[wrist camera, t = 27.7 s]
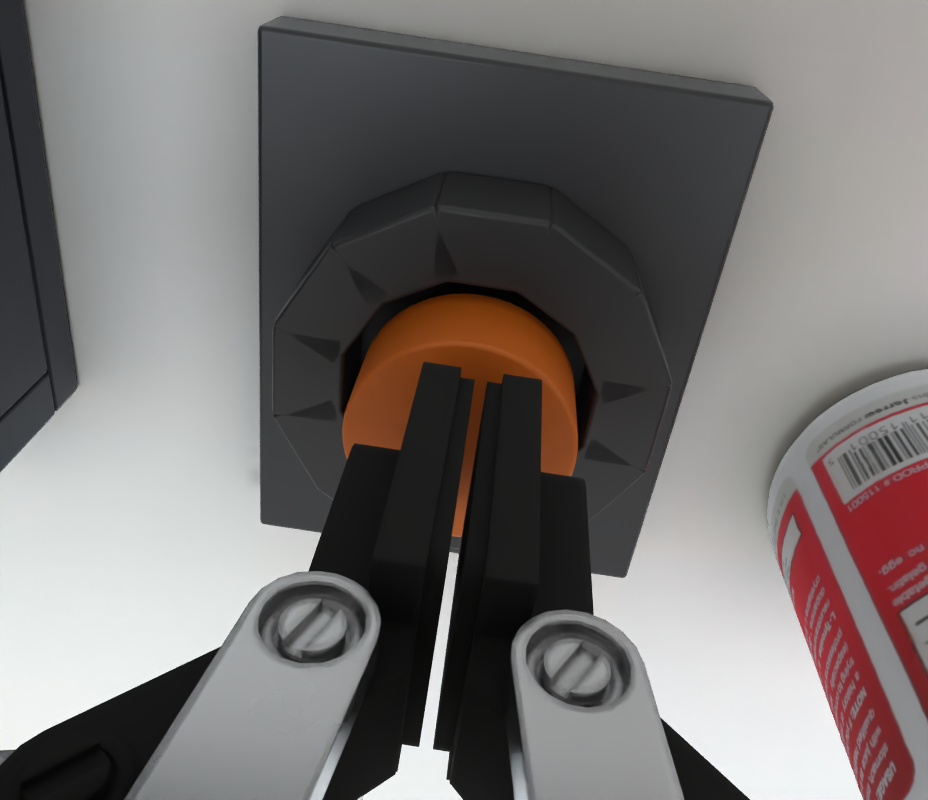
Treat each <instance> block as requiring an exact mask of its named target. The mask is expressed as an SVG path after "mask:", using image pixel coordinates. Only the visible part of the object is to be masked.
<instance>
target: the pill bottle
mask: <svg viewBox="0 0 928 800" xmlns="http://www.w3.org/2000/svg"><path fill="white" fill-rule="evenodd" d="M767 523H768V529H769V534H770V538H771V542H772V545H773V549H774V553H775V556H776V559H777V562H778V565H779V567H780V570H781V573H782V576H783V578H784V581H785V584H786V586H787V589H788V592H789V595H790V597H791V600H792V603H793V606H794V609H795V611H796V614H797V617H798V619H799V622H800V625H801V628H802V631H803V633H804V636H805V639H806V642H807V644H808V647H809V650H810V653H811V655H812V658H813V661H814V663H815V666H816V669H817V672H818V675H819V678H820V681H821V683H822V686H823V689H824V692H825V694H826V697H827V700H828V703H829V706H830V709H831V712H832V714H833V717H834V720H835V722H836V725H837V728H838V731H839V733H840V736H841V740H842V743H843V745H844V747H845V750H846V753H847V755H848V758H849V761H850V764H851V767H852V769H853V772H854V775H855V778H856V781H857V783H858V787H859V790H860V792H861V794H862V797H863V800H928V369H925V370H918V371H911V372H907V373H904V374H900V375H897V376H893V377H890V378H888V379H885V380H882V381H880V382H877V383H874V384H872V385H869V386H867V387H865V388H863V389H861V390H859V391H857V392H855V393H853V394H851V395H850V396H848V397H846V398H844V399H842V400H841V401H839V402H837V403H836V404H835V405H833V406H832V407H830V408H829V409H828V410H826V411H825V412H824V413H822V414H821V415H819V416H818V417H817V418H816V419H815V420H814V421H813V422H812V423H810V424H809V425H808V426H807V428H806V429H805V430H804V431H803V432H802V433H801V435H800V436H799V437H798V438H797V439H796V440H795V441H794V443H793V444H792V445H791V447H790V448H789V449H788V451H787V452H786V454H785V456H784V457H783V459H782V460H781V462H780V464H779V466H778V468H777V470H776V472H775V475H774V478H773V481H772V484H771V487H770V492H769V496H768V506H767Z"/></svg>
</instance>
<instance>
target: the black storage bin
mask: <svg viewBox="0 0 928 800" xmlns="http://www.w3.org/2000/svg"><path fill="white" fill-rule="evenodd" d="M76 389H77V380H76V373H75V366H74V359H73V352H72V345H71V338H70V331H69V324H68V317H67V310H66V303H65V295H64V288H63V281H62V274H61V267H60V260H59V253H58V246H57V239H56V232H55V225H54V218H53V211H52V204H51V197H50V190H49V183H48V176H47V169H46V162H45V155H44V148H43V141H42V134H41V127H40V120H39V113H38V106H37V99H36V92H35V85H34V78H33V71H32V64H31V57H30V50H29V43H28V36H27V29H26V22H25V15H24V8H23V1H22V0H0V472H1V471H2V470H3V469H4V468H5V467H6V466H7V465H8V464H9V463H10V461H11V460H12V459H13V458H14V457H15V456H16V455H17V454H18V453H19V452H20V451H21V450H22V449H23V447H24V446H25V445H26V444H27V443H28V442H29V441H30V440H31V439H32V438H33V437H34V436H35V435H36V433H37V432H38V431H39V430H40V429H41V428H42V427H43V426H44V425H45V424H46V423H47V422H48V421H49V419H50V418H51V417H52V416H53V415H54V413H55V411H57V410H58V409H59V408H60V407H61V406H62V405H63V404H64V403H65V401H66V400H67V399H68V398H69V397H70V396H71V395H72V394H73V393H74V392H75V391H76Z"/></svg>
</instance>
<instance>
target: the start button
mask: <svg viewBox="0 0 928 800" xmlns="http://www.w3.org/2000/svg"><path fill="white" fill-rule="evenodd" d="M423 362H430V363H437V364H443V365H450V366H456V367H462V368H461V376H460V377H461V378H468V379H474V380H475V383H474V390H473V397H472V403H471V410H470V417H469V424H468V430H467V437H466V444H465V450H464V457H463V464H462V470H461V477H460V484H459V490H458V497H457V504H456V511H455V517H454V524H453V531H452V536H456V537H462V531H463V525H464V519H465V513H466V507H467V501H468V495H469V489H470V483H471V476H472V470H473V464H474V458H475V452H476V446H477V440H478V434H479V428H480V422H481V416H482V410H483V404H484V398H485V392H486V386H487V382H494V383H500V384H502V379H503V375H504V374H508V375H515V376H522V377H528V378H535V379H541V380H542V430H541V472H546V473H552V474H559V475H565V476H572V473H573V470H574V467H575V464H576V459H577V453H578V430H577V415H576V400H575V385H574V378H573V371H572V368H571V365H570V362H569V359H568V357H567V355H566V353H565V351H564V348H563V347H562V345H561V344H560V342H559V341H558V339H557V338H556V336H555V335H554V334H553V333H552V332H551V331H550V330H549V329H548V327H547V326H546V325H544V324H543V323H542V322H541V321H540V320H538V319H537V318H536V317H535V316H533V315H532V314H530V313H529V312H527V311H526V310H524V309H522V308H520V307H518V306H516V305H514V304H512V303H510V302H507V301H504V300H501V299H498V298H495V297H490V296H485V295H479V294H468V293H465V294H449V295H442V296H437V297H433V298H430V299H426V300H423V301H421V302H418V303H416V304H414V305H411V306H409V307H408V308H406V309H404V310H403V311H401V312H399V313H398V314H397V315H396V316H394V317H393V318H392V319H391V320H389V321H388V322H387V323H386V324H385V325H384V326H383V328H382V329H381V330H380V331H379V332H378V334H377V335H376V337H375V338H374V339H373V341H372V343H371V345H370V347H369V349H368V351H367V353H366V356H365V359H364V361H363V364H362V367H361V369H360V372H359V375H358V377H357V380H356V383H355V385H354V388H353V390H352V393H351V396H350V398H349V401H348V404H347V407H346V410H345V414H344V419H343V426H342V436H343V446H344V451H345V455H346V458H347V459H348V456H349V453H350V451H351V448H352V446H353V445H354V444H355V443H358V444H364V445H371V446H377V447H384V448H390V449H396V450H400V449H401V445H402V442H403V438H404V434H405V430H406V426H407V422H408V419H409V415H410V411H411V407H412V403H413V399H414V396H415V392H416V388H417V384H418V380H419V377H420V373H421V369H422V365H423Z"/></svg>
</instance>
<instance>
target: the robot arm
mask: <svg viewBox="0 0 928 800" xmlns="http://www.w3.org/2000/svg"><path fill="white" fill-rule="evenodd" d="M461 368H462V367H456V366H450V365H443V364H437V363H430V362H423V365H422V369H421V373H420V377H419V380H418V384H417V388H416V392H415V396H414V399H413V403H412V407H411V411H410V415H409V419H408V422H407V426H406V430H405V434H404V438H403V442H402V445H401V449H400V450H396V449H390V448H384V447H377V446H371V445H364V444H358V443H355V444H354V445H353V446H352V448H351V451H350V453H349V456H348V459H347V462H346V465H345V468H344V471H343V474H342V476H341V479H340V482H339V485H338V488H337V491H336V494H335V497H334V499H333V502H332V505H331V508H330V511H329V514H328V517H327V520H326V522H325V525H324V528H323V531H322V534H321V537H320V540H319V543H318V545H317V548H316V551H315V554H314V557H313V560H312V563H311V566H310V568H309V571H308V572H297V573H294V574H291V575H288V576H284V577H281V578H278V579H276V580H275V581H273V582H272V583H270V584H268V585H267V586H265V587H263V588H262V589H261V590H260V591H259V592H258V593H257V594H256V595H255V597H254V598H253V599H252V600H251V601H250V602H249V604H248V605H247V607H246V608H245V610H244V611H243V613H242V615H241V616H240V618H239V619H238V621H237V623H236V624H235V626H234V627H233V629H232V630H231V632H230V634H229V635H228V637H227V638H226V640H225V641H224V643H223V645H222V646H221V647H219V648H217V649H215V650H213V651H211V652H209V653H207V654H204V655H202V656H200V657H198V658H196V659H194V660H192V661H190V662H188V663H186V664H183V665H181V666H179V667H177V668H175V669H173V670H171V671H169V672H167V673H165V674H162V675H160V676H158V677H156V678H154V679H152V680H150V681H148V682H146V683H144V684H141V685H139V686H137V687H135V688H133V689H131V690H129V691H127V692H125V693H123V694H120V695H118V696H116V697H114V698H112V699H110V700H108V701H106V702H104V703H102V704H99V705H97V706H95V707H93V708H91V709H89V710H87V711H85V712H83V713H81V714H78V715H76V716H74V717H72V718H70V719H68V720H66V721H64V722H62V723H60V724H57V725H55V726H53V727H51V728H49V729H47V730H45V731H43V732H41V733H40V734H38V735H37V736H35V737H33V738H32V739H30V740H28V741H27V742H25V743H24V744H22V745H20V746H19V747H18V748H17V749H16V750H3V751H0V800H363V795H365V794H366V793H368V792H369V791H371V790H372V789H374V788H375V787H377V786H378V785H380V784H381V783H383V782H384V781H386V780H387V779H389V778H390V777H392V776H393V775H395V773H396V772H397V770H398V764H399V758H400V753H401V747H402V744H404V745H410V746H416V747H419V743H420V737H421V730H422V724H423V718H424V711H425V705H426V699H427V692H428V686H429V679H430V673H431V667H432V660H433V654H434V647H435V641H436V635H437V628H438V622H439V615H440V609H441V603H442V596H443V590H444V583H445V577H446V570H447V564H448V557H449V551H450V544H451V537H452V531H453V524H454V517H455V511H456V504H457V497H458V490H459V484H460V477H461V470H462V464H463V457H464V450H465V444H466V437H467V430H468V424H469V417H470V410H471V403H472V397H473V390H474V383H475V380H474V379H468V378H461V377H460V376H461ZM541 430H542V380H541V379H535V378H528V377H522V376H515V375H508V374H504V375H503V379H502V384H500V383H494V382H487V386H486V392H485V398H484V404H483V410H482V416H481V422H480V428H479V434H478V440H477V446H476V452H475V458H474V464H473V470H472V476H471V483H470V489H469V495H468V501H467V507H466V513H465V519H464V525H463V531H462V538H461V545H460V552H459V559H458V567H457V574H456V581H455V589H454V596H453V604H452V611H451V619H450V626H449V633H448V641H447V648H446V656H445V663H444V671H443V678H442V686H441V693H440V700H439V708H438V715H437V723H436V730H435V738H434V746H433V749H436V750H442V751H448V752H450V753H449V761H448V770H447V780H450V784H451V785H452V786H453V788H454V789H455V790H456V791H457V792H458V794H459V795H460V796H461V797H462V799H463V800H750V799H749V798H748V797H747V796H745V795H744V794H743V793H742V792H741V791H740V790H739V789H738V788H737V787H736V786H734V785H733V784H732V783H731V782H730V781H729V780H728V779H727V778H726V777H725V776H724V775H722V774H721V773H720V772H719V771H718V770H717V769H716V768H715V767H714V766H713V765H712V764H710V763H709V762H708V761H707V760H706V759H705V758H704V757H703V756H702V755H701V754H700V753H698V752H697V751H696V750H695V749H694V748H693V747H692V746H691V745H690V744H689V743H688V742H686V741H685V740H684V739H683V738H682V737H681V736H680V735H679V734H678V733H677V732H676V731H674V730H673V729H672V728H671V727H670V726H669V725H668V724H667V723H666V722H665V721H664V720H662V719H661V718H660V715H659V712H658V709H657V705H656V702H655V698H654V695H653V692H652V688H651V685H650V682H649V678H648V675H647V671H646V668H645V665H644V662H643V660H642V658H641V656H640V654H639V652H638V650H637V648H636V646H635V645H634V644H633V643H632V642H631V641H630V639H629V638H628V637H627V636H626V635H625V634H624V633H623V632H622V631H621V630H619V629H618V628H616V627H615V626H613V625H612V624H610V623H609V622H608V621H606V620H604V619H601V618H599V617H596V616H594V615H593V598H592V581H591V564H590V547H589V529H588V512H587V495H586V484H585V480H584V479H583V478H578V477H572V476H565V475H559V474H552V473H546V472H541Z"/></svg>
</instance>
